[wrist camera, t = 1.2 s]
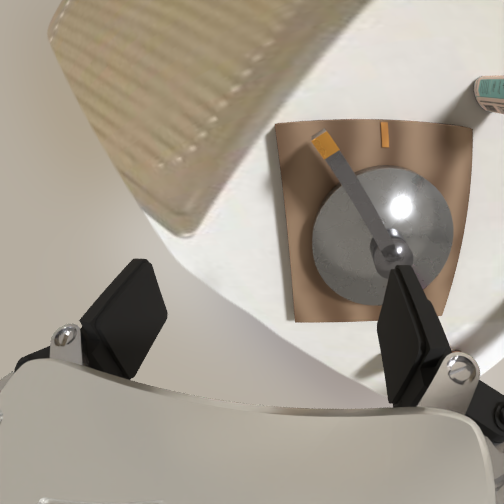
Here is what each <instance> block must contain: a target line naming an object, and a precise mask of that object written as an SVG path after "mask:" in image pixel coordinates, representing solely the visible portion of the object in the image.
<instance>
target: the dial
mask: <svg viewBox="0 0 504 504" xmlns="http://www.w3.org/2000/svg"><path fill="white" fill-rule="evenodd" d="M311 142H312V143H313V145H314V146H315V148H316V149H317V150H318V152H319V153H320V155H321V156H322V157H323V159H325V161H326V162H327V164H328V165H329V166H330V168H331V169H332V171H333V172H334V174H335V175H336V177H337V178H338V180H339V183H338V184H337V185H336V186H335V187H333V188H332V190H331V191H330V192H329V193H328V194H327V196H326V197H325V199H324V200H323V202H322V203H321V205H320V207H319V209H318V212H317V214H316V217H315V221H314V225H313V236H312V250H313V257H314V261H315V265H316V267H317V270H318V272H319V274H320V275H321V277H322V279H323V280H324V281H325V283H326V284H327V285H328V286H329V287H330V288H331V289H332V290H333V291H334V292H336V293H337V294H339V295H340V296H342V297H344V298H346V299H348V300H350V301H353V302H355V303H359V304H364V305H377V306H380V305H382V304H383V300H384V296H385V291H386V287H387V283H388V278H389V274H390V270H391V269H395V266H396V265H411V266H412V268H413V270H414V272H415V274H416V276H417V278H418V280H419V282H420V284H421V286H422V289H425V288H426V287H427V286H428V285H429V284H430V283H431V282H432V281H433V280H434V279H435V278H436V277H437V276H438V274H439V273H440V272H441V270H442V269H443V267H444V265H445V263H446V261H447V259H448V257H449V254H450V251H451V247H452V242H453V220H452V216H451V212H450V209H449V207H448V204H447V202H446V200H445V199H444V197H443V196H442V194H441V193H440V192H439V191H438V189H437V188H436V187H435V186H434V185H432V184H431V183H430V182H429V181H428V180H426V179H425V178H424V177H422V176H421V175H419V174H418V173H416V172H414V171H412V170H409V169H407V168H403V167H399V166H393V165H378V166H372V167H367V168H364V169H362V170H359V171H356V172H354V171H353V170H352V168H351V167H350V165H349V164H348V162H347V160H346V159H345V157H344V156H343V154H342V153H341V151H340V149H339V148H338V146H337V145H336V143H335V142H334V140H333V139H332V138H331V136H330V135H329V133H328V132H327V131H326V130H325V128H324V129H322V130H320V131H319V132H317V133H316V134H314V135H313V136H311Z"/></svg>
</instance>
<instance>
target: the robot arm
mask: <svg viewBox="0 0 504 504" xmlns="http://www.w3.org/2000/svg"><path fill="white" fill-rule="evenodd" d="M166 319H167V310H166V307H165V304H164V301H163V298H162V295H161V292H160V289H159V286H158V283H157V280H156V276H155V273H154V270H153V267H152V264H151V263H149V262H148V260H147V259H133V260H132V261H131V262H130V263H129V264H128V265H127V266H126V267H125V268H124V269H123V270H122V272H121V273H120V274H119V275H118V276H117V277H116V278H115V279H114V280H113V282H112V283H111V284H110V285H109V286H108V287H107V288H106V290H105V291H104V292H103V293H102V294H101V295H100V297H99V298H98V299H97V300H96V301H95V302H94V303H93V305H92V306H91V307H90V308H89V309H88V311H87V312H86V313H85V314H84V315H83V317H82V318H81V319H80V322H81V324H82V328H81V329H80V328H79V327H78V326H77V325H75V324H67V325H64V326H62V327H60V328H59V329H58V330H57V331H56V332H55V333H54V334H53V336H52V338H51V344H50V346H49V347H47V348H44V349H42V350H39V351H36V352H34V353H32V354H29V355H27V356H25V357H22V358H21V359H20V360H19V361H18V363H17V365H16V367H15V371H14V372H13V371H12V372H11V373H9V374H8V375H6V376H5V377H4V378H3V379H1V380H0V504H504V395H502V394H500V393H499V392H498V391H496V390H494V389H493V388H491V387H490V386H488V385H487V384H485V383H483V382H482V381H480V380H479V377H480V369H479V366H478V364H477V362H476V361H475V360H474V359H473V358H472V357H471V356H470V355H468V354H466V353H463V352H454V353H452V351H451V349H450V346H449V343H448V341H447V338H446V335H445V333H444V330H443V328H442V325H441V323H440V321H439V318H438V316H437V314H436V311H435V309H434V307H433V305H432V303H431V301H430V300H428V299H427V297H426V295H425V293H424V291H423V289H422V286H421V284H420V282H419V280H418V278H417V276H416V274H415V272H414V270H413V268H412V266H411V265H396V266H395V269H391V270H390V274H389V278H388V283H387V287H386V291H385V296H384V300H383V304H382V308H381V311H380V315H379V319H378V323H377V333H378V338H379V344H380V349H381V355H382V361H383V367H384V373H385V380H386V387H387V395H388V401H389V403H393V408H370V409H308V408H288V407H275V406H264V405H254V404H245V403H238V402H230V401H224V400H217V399H211V398H205V397H200V396H195V395H189V394H185V393H180V392H175V391H171V390H166V389H162V388H158V387H154V386H150V385H146V384H142V383H138V382H135V381H131V380H130V379H131V378H133V377H134V376H135V375H136V373H137V371H138V369H139V368H140V366H141V364H142V362H143V360H144V359H145V357H146V355H147V353H148V351H149V349H150V348H151V346H152V344H153V342H154V341H155V339H156V337H157V335H158V333H159V332H160V330H161V328H162V326H163V325H164V323H165V321H166Z"/></svg>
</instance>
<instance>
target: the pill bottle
mask: <svg viewBox="0 0 504 504" xmlns="http://www.w3.org/2000/svg"><path fill="white" fill-rule="evenodd" d="M474 93H475V97H476V100H477V102H478V103H479V105H480V106H481V107H482V108H483V109H484V110H486V111H488V112H496V113H501V114H504V76H481V77H479V78H477V80H476V81H475V84H474Z"/></svg>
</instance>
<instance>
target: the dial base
mask: <svg viewBox="0 0 504 504" xmlns="http://www.w3.org/2000/svg"><path fill="white" fill-rule="evenodd" d="M324 128H325V130H326V131H327V132H328V133H329V135H330V136H331V138H332V139H333V140H334V142H335V143H336V145H337V146H338V148H339V149H340V151H341V153H342V154H343V156H344V157H345V159H346V160H347V162H348V164H349V165H350V167H351V168H352V170H353V171H354V172H356V171H359V170H362V169H364V168H367V167H372V166H378V165H393V166H399V167H403V168H407V169H409V170H412V171H414V172H416V173H418V174H419V175H421V176H422V177H424V178H425V179H426V180H428V181H429V182H430V183H431V184H432V185H434V186H435V187H436V188H437V189H438V191H439V192H440V193H441V194H442V196H443V197H444V199H445V200H446V202H447V204H448V207H449V209H450V212H451V216H452V220H453V242H452V247H451V251H450V254H449V257H448V259H447V261H446V263H445V265H444V267H443V269H442V270H441V272H440V273H439V274H438V276H437V277H436V278H435V279H434V280H433V281H432V282H431V283H430V284H429V285H428V286H427V287H426V288H425V289H423V291H424V293H425V295H426V297H427V299H428V300H430V301H431V303H432V305H433V307H434V309H435V311H436V314H437V316H442V314H443V311H444V308H445V305H446V302H447V299H448V296H449V292H450V289H451V285H452V282H453V278H454V274H455V271H456V267H457V262H458V258H459V254H460V249H461V244H462V239H463V234H464V229H465V223H466V217H467V210H468V202H469V194H470V184H471V171H472V148H473V129H471V128H468V127H463V126H456V125H448V124H439V123H430V122H418V121H404V120H379V119H340V120H315V121H299V122H287V123H277V124H275V131H276V138H277V145H278V153H279V161H280V169H281V177H282V186H283V194H284V203H285V213H286V222H287V232H288V242H289V253H290V264H291V276H292V288H293V301H294V315H295V322H356V321H378V319H379V315H380V311H381V308H382V305H380V306H377V305H364V304H359V303H355V302H353V301H350V300H348V299H346V298H344V297H342V296H340V295H339V294H337V293H336V292H334V291H333V290H332V289H331V288H330V287H329V286H328V285H327V284H326V283H325V281H324V280H323V279H322V277H321V275H320V274H319V272H318V270H317V267H316V265H315V261H314V257H313V250H312V236H313V225H314V221H315V217H316V214H317V212H318V209H319V207H320V205H321V203H322V202H323V200H324V199H325V197H326V196H327V194H328V193H329V192H330V191H331V190H332V188H333V187H335V186H336V185H337V184H338V183H339V180H338V178H337V177H336V175H335V174H334V172H333V171H332V169H331V168H330V166H329V165H328V164H327V162H326V161H325V159H323V157H322V156H321V155H320V153H319V152H318V150H317V149H316V148H315V146H314V145H313V143H312V142H311V136H313V135H314V134H316V133H317V132H319V131H320V130H322V129H324Z"/></svg>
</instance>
